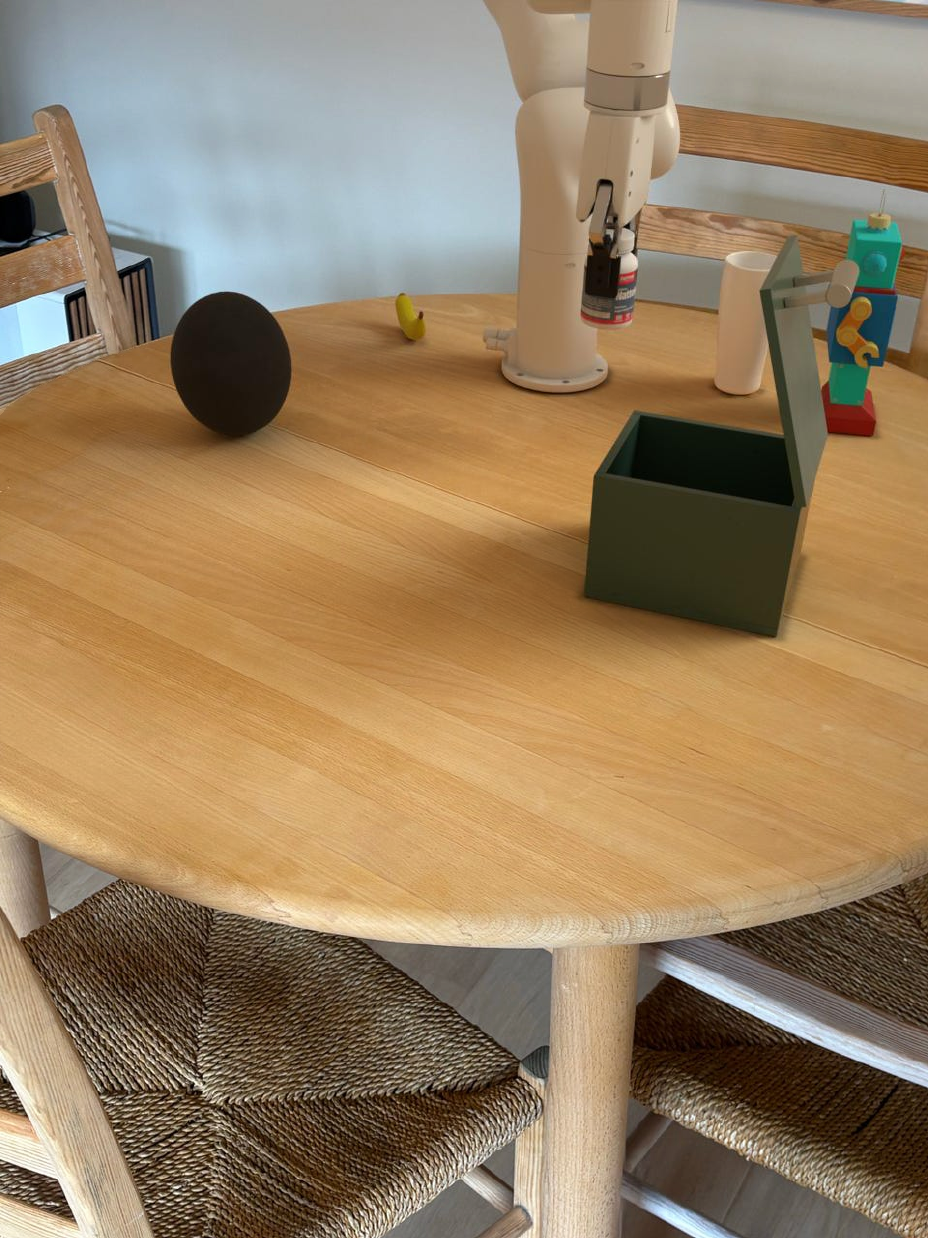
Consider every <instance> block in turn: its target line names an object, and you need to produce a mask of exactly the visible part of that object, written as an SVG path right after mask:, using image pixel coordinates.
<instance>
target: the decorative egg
mask: <svg viewBox="0 0 928 1238" xmlns="http://www.w3.org/2000/svg"><path fill="white" fill-rule="evenodd" d="M170 345H171V346H170V354H169V355H170V358H169V359H170V370H171V377H172V381H173V384H174V387H175V390H176V392H177V394H178V397H179V398H180V400H181V402H182V404H183V406H184V407H185V408H186V410H187V412H189V413H190V415H192V417H193V418H194V419H195V420H197V421H198V422H199V423H200V424H201V425H202V426H203V427H206V428H207V429H209V430H211V431H213V432H216V433H218V434H222V435H225V436H232V437H233V436H234V437H237V436H245V435H250V434H253V433H255V432H258V431H260V430H261V429H264V428H265V427H267V425H269V424H270V423H271V422H272V421H273V420H274V419H275V418H276V417H277V416H278V414H279V413H280V411H281V410H282V408H283V406H284V404H285V402H286V400H287V397H288V395H289V391H290V387H291V382H292V371H293V370H292V369H293V368H292V357H291V351H290V347H289V343H288V341H287V338H286V335H285V333H284V331H283V328H282V327H281V325H280V324H279V322H278V320H277V319H276V318H275V316H274V315H273V314H272V313H271V311H270V310H269V309H268V308H267V307H266V306H265V305H263V304H262V303H261V302H259V301H257V300H256V299H254V298H253V297H251V296H249V295H246V294H244V293H241V292H240V293H239V292H235V291H228V290H227V291H226V290H225V291H218V292H213V293H209V294H207V295H204V296H202V297H200V298H199V299H198V300H196V301H195V302H193V303H192V304H190V306H189V307H188V308H187V309H186V310H185V312H184V313H183V314H182V315H181V317H180V319H179V321H178V323H177V325H176V326H175V330H174V332H173V336H172V340H171V344H170Z"/></svg>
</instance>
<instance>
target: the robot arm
mask: <svg viewBox="0 0 928 1238" xmlns="http://www.w3.org/2000/svg"><path fill="white" fill-rule="evenodd" d="M678 1H679V0H482V2H483V3H484V5H485V8H486V9H487V10H488V12H489V14H490V15H491V17H492V18H493V20H494V21H495V23H496V25H497V27H498V29H499V31H500V34H501V38H502V41H503V42H502V43H503V46H504V50H505V53H506V58H507V62H508V66H509V70H510V75H511V78H512V81H513V85H514V88H515V90H516V94H517V96H518V97H519V99H520V101H521V103H522V104H521V105H520V107H519V109H518V111H517V114H516V117H515V123H514V124H515V125H514V137H515V149H516V158H517V168H518V177H519V193H520V194H519V196H520V197H519V201H520V202H519V203H520V204H519V205H520V210H519V211H520V212H519V213H520V214H519V246H518V247H519V250H518V271H517V272H518V274H517V276H518V277H517V298H516V324H515V327H516V328H515V327H511V328H510V329H509V330H506V329H501V328H500V327H492V326H485V327H484V330H483V333H482V342H483V343H485V349H486V350H490V351H495V352H496V351H501V352H503V353H504V354H505V355H504V356H503V357H502V360H501V373H502V374H503V375H504V377H505V378H506V380H508V381H510V382H511V383H513V384H515V385H517V386H519V387H522V388H524V389H528V390H532V391H538V392H543V393H575V392H580V391H585V390H589V389H592V388H594V387H597V386H598V385H601V384H602V383H603V382H604V381H605V380H606V379H607V377H608V373H609V364H608V362H607V360H606V359H605V358H604V356H602V355H600V354H599V353H597V345H598V334H599V329H597V328H593V327H590V326H588V325H586V324H584V323H583V322H582V320H581V318H580V313H581V301H582V289H583V276H584V264H585V259H586V257H587V266H586V280H585V293H586V294H587V295H592V296H599V297H606V298H616V296H617V295H618V289H619V278H620V267H621V256H618V252H619V246H620V240H621V234H622V228H625V229H629V230H631V231H632V232H634V234H635V238H634V247H633V250H632V251H631V253H632V254H634V255H635V256H636V253H637V243H638V237H637V234H638V229H639V212H640V210H641V209H642V207H643V206H645V204H646V202H647V199H648V195H649V190H650V183H651V181H652V180H656V179H660V178H661V177H664V176H665V175H666V174H667V173H669V171H671V169H672V168H673V167H674V165H675V163H676V162H677V159H678V156H679V152H680V146H681V128H680V121H679V115H678V111H677V107H676V103H675V100H674V97H673V94H672V91H671V88H670V78H671V68H672V67H671V66H672V57H673V50H674V49H673V48H674V39H675V31H676V30H675V29H676V23H677V21H676V20H677V11H678V4H679V3H678ZM582 14H583V15H584V14H589V20H581V19H578V18H576V16H575V15H582ZM606 229H611V230H614V233H613V239H612V238H611V237H610V234H606V232H607V231H606ZM611 240H612V241H611Z"/></svg>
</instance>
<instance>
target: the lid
mask: <svg viewBox="0 0 928 1238" xmlns="http://www.w3.org/2000/svg"><path fill="white" fill-rule="evenodd" d="M776 256H777V258H776V260H775V262H774V264H773V266H772V267H771V269H770V271H769V273H768V275H767V277H766V279H765V281H764V283H763V285H762V287H761V289H760V290H759V292H760V298H761V304H762V310H763V315H764V321H765V327H766V333H767V339H768V345H769V348H768V351H769V357H770V362H771V367H772V373H773V380H774V386H775V391H776V398H777V402H778V409H779V415H780V421H781V427H782V433H783V435H784V439H785V445H786V451H787V457H788V463H789V469H790V475H791V481H792V487H793V492H794V498H795V504H796V508H802V507H806V506H807V503H808V500H809V496H810V493H811V490H812V487H813V483H814V484H815V481H814V480H816V477H817V474H818V469H819V466H820V463H821V460H822V456H823V454H824V453H823V452H824V450H825V446H826V443H827V440H828V436H829V432H827V426H826V419H825V413H824V406H823V399H822V393H821V389H822V386H821V381H820V373H819V368H818V361H817V354H816V347H815V341H814V335H813V329H812V322H811V313H810V308H809V306H810V305H816V304H817V305H818V304H823V303H827V304H828V306H830V307H831V306H832V307H834V308H841V307H844V306H846V305H847V304H848V303H849V301H850V299H851V296H852V293H853V290H854V287H855V284H856V281H857V278H858V275H859V267H858V265H857V264H856V263H855V262H854V261H852V260H846V259H843V260H842V261H840V262H839V263H838V264H837V265H836V266H835V268H834V269H828V270H824V271H818V272H812V273H807V274H804V267H803V263H802V262H803V261H802V255H801V250H800V243H799V236H798V234H793V235H788V236H787V237H786V239H785V240H784V243H783V245H782V246H781V248H780V250H779V252H778V254H777V255H776ZM824 283H829V284H828V286H827V289H826V290H819V291H814V292H809V293H807V288H806V287H808V286H812V285H813V286H814V285H819V284H824ZM813 488H814V487H813Z"/></svg>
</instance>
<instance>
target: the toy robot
mask: <svg viewBox="0 0 928 1238" xmlns="http://www.w3.org/2000/svg"><path fill="white" fill-rule="evenodd" d="M883 199H884V200H883ZM886 199H887V189H886V188H884V189H883V191H882V195H881V199H880V204H879V212H872V213H870V214H869V215H868V219H867V220H865V219H864V220H862V219H853V220H852V223H851V229H850V235H849V240H848V245H847V251H846V255H845V260H852V261H854V262H855V263H856V264H857V265H858V267H859V275H858V278H857V281H856V284H855V287H854V290H853V293H852V296H851V299H850V301H849V303H848V304H847V305H846V306H844V307H841V308H834V307H832V306H830V308H829V313H828V319H827V324H826V331H825V332H826V333H825V334H826V345H827V352H828V353H827V355H828V363H831V364H830V369H829V375H828V380H827V381H826V382H825V384H823V385H822V386H821V393H822V399H823V406H824V413H825V419H826V426H827V432H828V433H835V434H846V435H855V436H856V435H857V436H867V437H873V436H874V435H875V429H876V425H877V418H876V413H875V406H874V400H873V394H872V393H873V392H872V391H871V390H870V389H868V388H867V386H868V380H869V376H870V371H871V367H878V368H883V367H884V365H885V359H886V354H887V350H888V348H889V344H890V339H891V335H892V330H893V325H894V320H895V315H896V311H897V304H898V298H899V295H898V292H897V287H896V283H895V280H896V278H897V274H898V273H897V272H898V265H899V263H900V262H901V261H903V260H904V258H905V255H906V249H905V247H904V246H903V240H902V237H901V234H900V229H899V227H898V223H897V222H895V221H894V222H893V221H891V220H892V218H891V215H889V214H888V213H884V210H885V205H886ZM882 204H883V205H882Z"/></svg>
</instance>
